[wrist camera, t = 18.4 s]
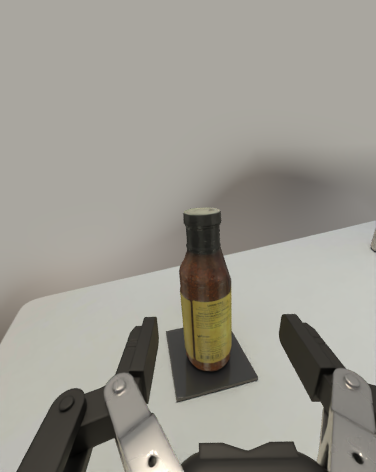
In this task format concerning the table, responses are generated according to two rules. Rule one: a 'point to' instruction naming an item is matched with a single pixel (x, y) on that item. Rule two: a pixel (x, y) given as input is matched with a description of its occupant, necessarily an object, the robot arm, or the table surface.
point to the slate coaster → (203, 382)
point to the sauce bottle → (205, 292)
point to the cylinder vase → (374, 241)
